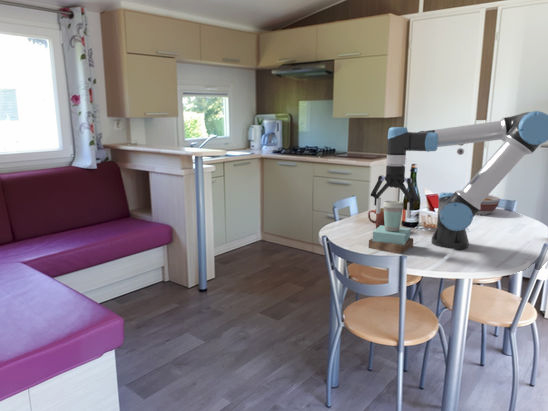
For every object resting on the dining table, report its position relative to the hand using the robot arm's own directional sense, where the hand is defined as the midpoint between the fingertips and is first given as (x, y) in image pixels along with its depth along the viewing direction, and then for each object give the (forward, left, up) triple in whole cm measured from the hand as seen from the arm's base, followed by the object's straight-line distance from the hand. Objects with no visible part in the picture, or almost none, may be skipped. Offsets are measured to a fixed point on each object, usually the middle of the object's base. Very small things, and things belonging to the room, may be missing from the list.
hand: (393, 215), depth 186 cm
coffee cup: (0, 0, -7) cm, 7 cm away
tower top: (0, 0, -10) cm, 10 cm away
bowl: (-11, -94, -14) cm, 96 cm away
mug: (+17, -25, -14) cm, 33 cm away
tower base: (0, 0, -14) cm, 15 cm away
